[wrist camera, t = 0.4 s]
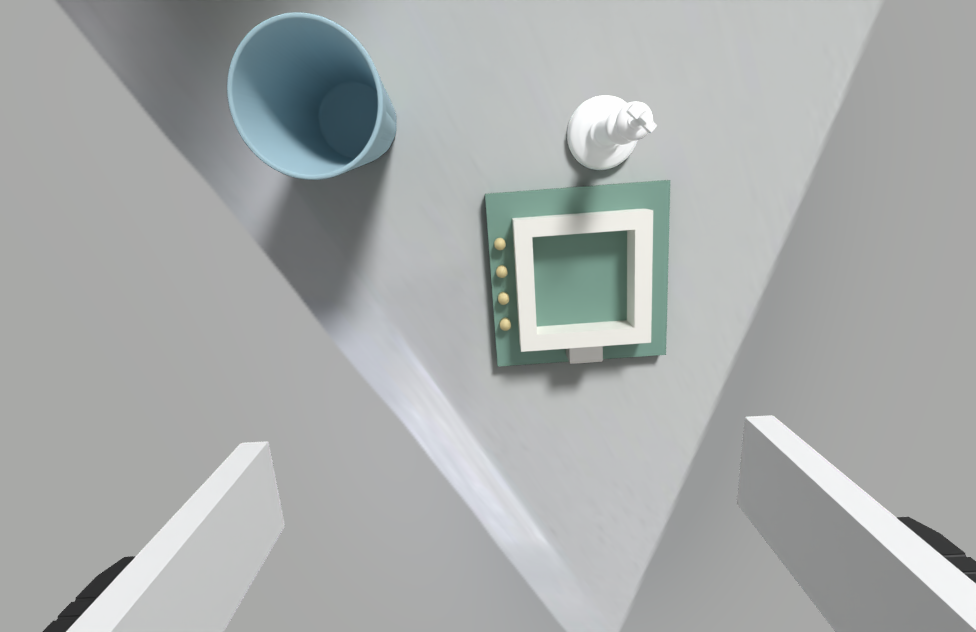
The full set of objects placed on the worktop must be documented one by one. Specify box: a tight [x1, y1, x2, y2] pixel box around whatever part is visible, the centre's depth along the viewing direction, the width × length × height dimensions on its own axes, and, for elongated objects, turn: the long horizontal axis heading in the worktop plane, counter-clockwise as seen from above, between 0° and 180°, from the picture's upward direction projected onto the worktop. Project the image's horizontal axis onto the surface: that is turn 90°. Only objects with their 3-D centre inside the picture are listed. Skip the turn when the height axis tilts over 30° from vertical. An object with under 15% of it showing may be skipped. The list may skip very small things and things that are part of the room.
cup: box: [227, 12, 396, 180], centre depth 29 cm, size 8×8×10 cm
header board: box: [485, 180, 670, 366], centre depth 36 cm, size 13×13×3 cm
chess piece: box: [567, 95, 657, 170], centre depth 30 cm, size 5×5×10 cm
